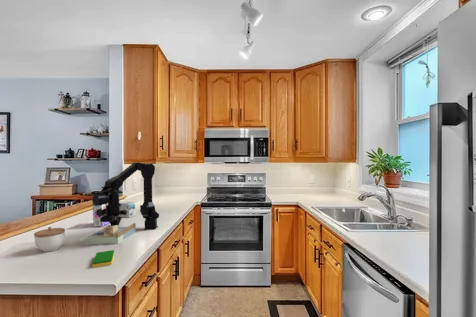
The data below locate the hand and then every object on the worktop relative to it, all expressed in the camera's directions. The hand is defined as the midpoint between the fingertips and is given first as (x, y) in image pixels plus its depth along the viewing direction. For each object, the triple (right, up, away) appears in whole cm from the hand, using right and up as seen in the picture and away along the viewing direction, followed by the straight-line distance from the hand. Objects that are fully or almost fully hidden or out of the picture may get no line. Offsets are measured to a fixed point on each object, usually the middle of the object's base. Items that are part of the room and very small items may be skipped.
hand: (114, 231), depth 154 cm
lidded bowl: (-26, -6, -14) cm, 30 cm away
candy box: (-24, -5, +37) cm, 45 cm away
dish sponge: (+10, -5, -33) cm, 34 cm away
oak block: (0, -1, -5) cm, 5 cm away
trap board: (-3, -4, +3) cm, 6 cm away
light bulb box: (-17, -5, +62) cm, 65 cm away
